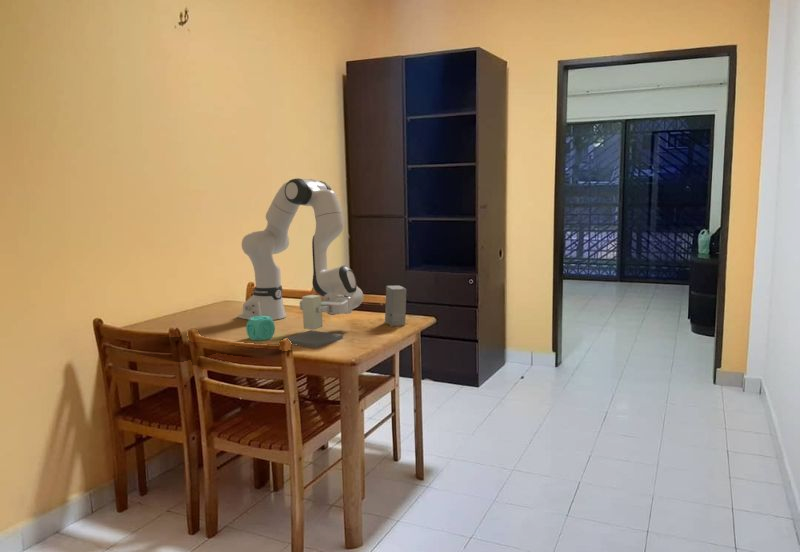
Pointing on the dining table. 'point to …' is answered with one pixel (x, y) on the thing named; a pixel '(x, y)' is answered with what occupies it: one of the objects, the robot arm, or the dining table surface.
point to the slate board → (314, 338)
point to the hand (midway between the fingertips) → (310, 309)
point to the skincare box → (395, 305)
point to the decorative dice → (260, 328)
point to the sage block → (312, 312)
